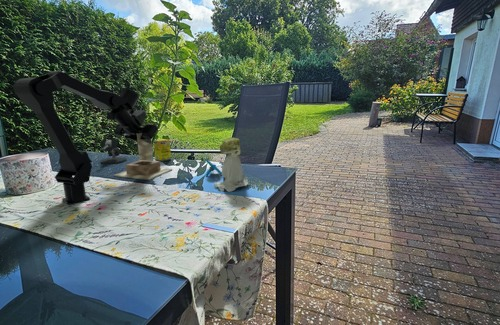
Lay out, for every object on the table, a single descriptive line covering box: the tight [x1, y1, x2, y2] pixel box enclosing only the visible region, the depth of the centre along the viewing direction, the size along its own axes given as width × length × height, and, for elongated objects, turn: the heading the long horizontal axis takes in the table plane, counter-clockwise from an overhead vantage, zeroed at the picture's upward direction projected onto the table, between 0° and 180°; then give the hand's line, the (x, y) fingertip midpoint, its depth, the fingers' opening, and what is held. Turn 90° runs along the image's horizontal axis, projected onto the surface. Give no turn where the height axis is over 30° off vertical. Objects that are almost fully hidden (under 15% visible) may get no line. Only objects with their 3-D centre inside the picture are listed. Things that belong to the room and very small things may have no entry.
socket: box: [113, 159, 173, 181], centre depth 123 cm, size 18×16×5 cm
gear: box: [204, 158, 222, 177], centre depth 119 cm, size 11×6×10 cm
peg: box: [136, 125, 154, 161], centre depth 120 cm, size 4×4×14 cm
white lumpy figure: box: [213, 137, 250, 193], centre depth 103 cm, size 12×13×18 cm
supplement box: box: [153, 138, 172, 163], centre depth 146 cm, size 6×6×11 cm
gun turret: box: [99, 136, 128, 165], centre depth 142 cm, size 13×20×13 cm, turn 14°
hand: (146, 142), depth 121 cm, fingers closed on peg, 4 cm apart
